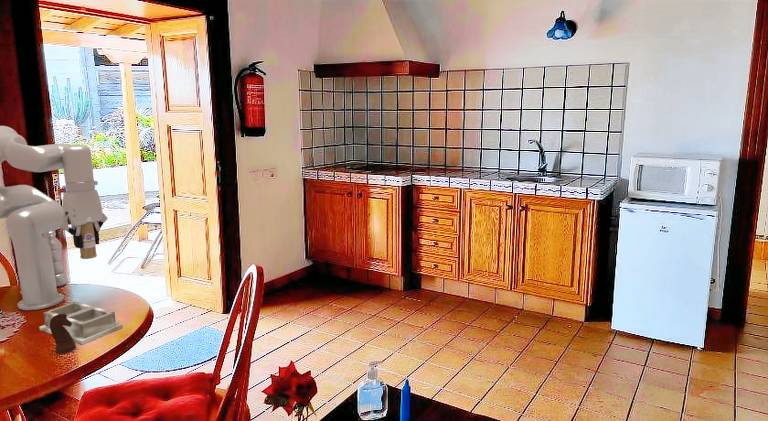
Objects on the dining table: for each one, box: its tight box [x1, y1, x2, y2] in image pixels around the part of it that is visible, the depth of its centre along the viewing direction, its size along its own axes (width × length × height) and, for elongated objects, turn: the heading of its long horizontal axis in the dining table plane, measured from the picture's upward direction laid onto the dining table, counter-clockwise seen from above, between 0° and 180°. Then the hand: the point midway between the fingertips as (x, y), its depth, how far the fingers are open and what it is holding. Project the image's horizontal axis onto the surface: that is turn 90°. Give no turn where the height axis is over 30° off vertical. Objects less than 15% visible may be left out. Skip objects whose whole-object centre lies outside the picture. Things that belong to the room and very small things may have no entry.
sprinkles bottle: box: [79, 217, 98, 260], centre depth 165 cm, size 5×5×14 cm
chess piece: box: [50, 313, 77, 355], centre depth 140 cm, size 5×5×10 cm
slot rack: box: [38, 301, 123, 345], centre depth 154 cm, size 20×12×5 cm, turn 61°
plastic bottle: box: [42, 230, 68, 287], centre depth 188 cm, size 6×7×20 cm
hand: (87, 245), depth 165 cm, fingers closed on sprinkles bottle, 4 cm apart
